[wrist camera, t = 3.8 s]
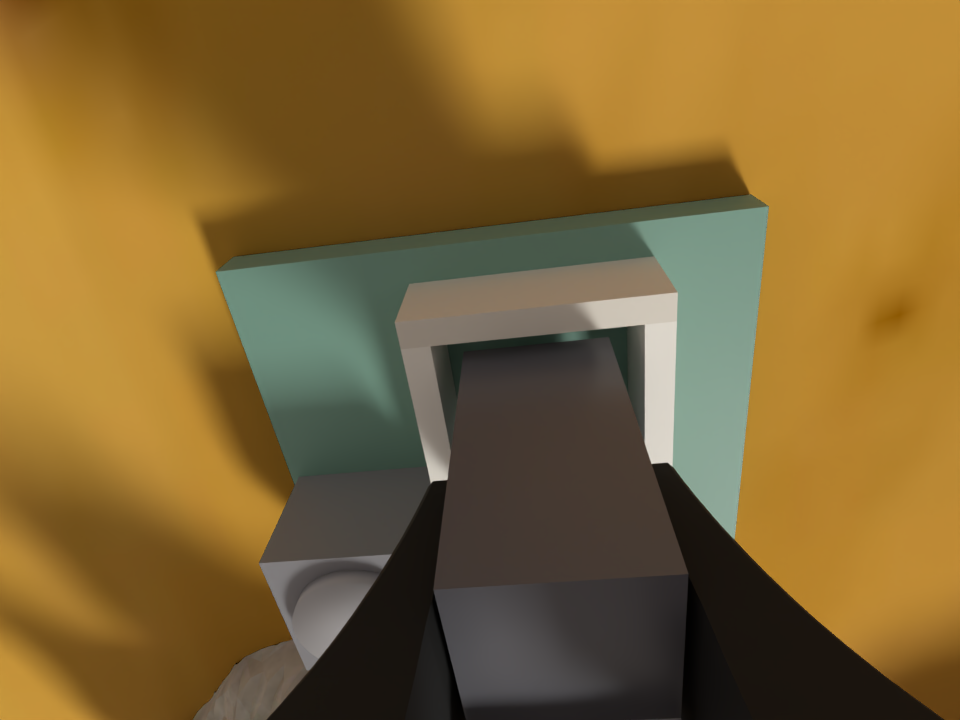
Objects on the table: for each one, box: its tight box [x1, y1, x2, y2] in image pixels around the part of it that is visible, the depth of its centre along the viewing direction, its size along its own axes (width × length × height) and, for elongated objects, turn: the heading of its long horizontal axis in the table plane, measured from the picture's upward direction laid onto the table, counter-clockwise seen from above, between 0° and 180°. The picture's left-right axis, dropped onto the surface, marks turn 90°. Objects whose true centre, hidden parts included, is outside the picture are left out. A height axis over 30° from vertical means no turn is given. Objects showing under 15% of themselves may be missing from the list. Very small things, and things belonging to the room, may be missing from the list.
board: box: [216, 195, 769, 670], centre depth 14 cm, size 12×10×4 cm
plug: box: [433, 337, 689, 720], centre depth 10 cm, size 3×4×7 cm
